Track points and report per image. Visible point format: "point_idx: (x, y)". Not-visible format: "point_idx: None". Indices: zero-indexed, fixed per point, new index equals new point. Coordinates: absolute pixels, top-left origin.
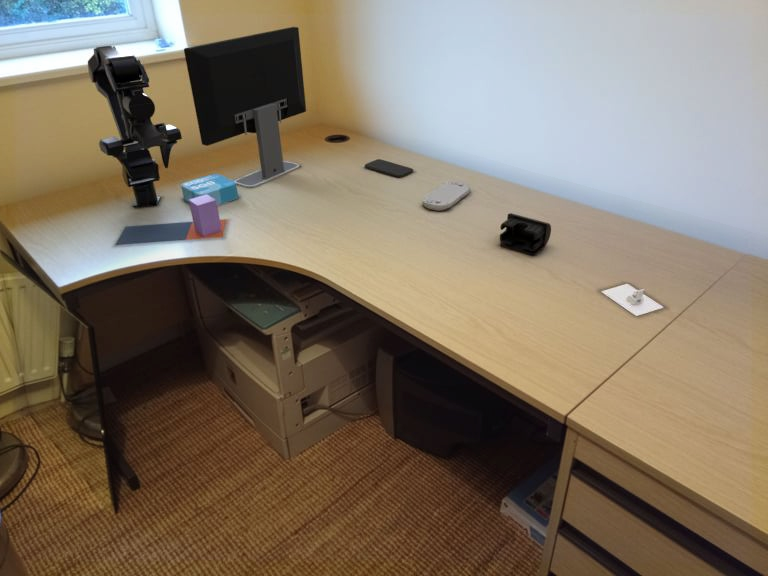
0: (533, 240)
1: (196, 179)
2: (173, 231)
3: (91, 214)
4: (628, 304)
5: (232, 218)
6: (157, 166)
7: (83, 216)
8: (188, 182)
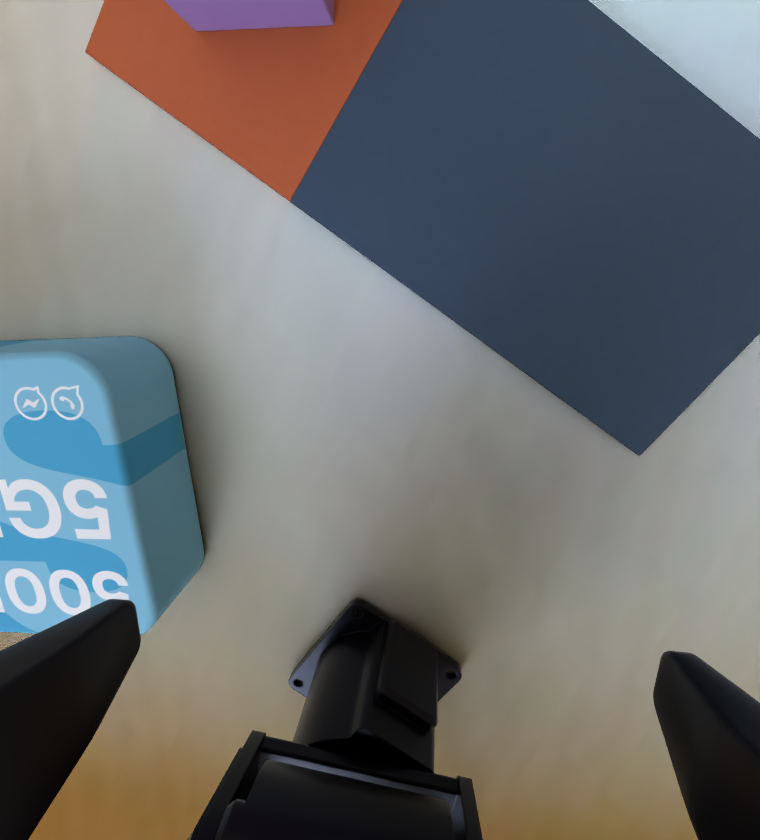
0: None
1: (40, 625)
2: (456, 134)
3: None
4: None
5: (51, 61)
6: (192, 836)
7: None
8: None
